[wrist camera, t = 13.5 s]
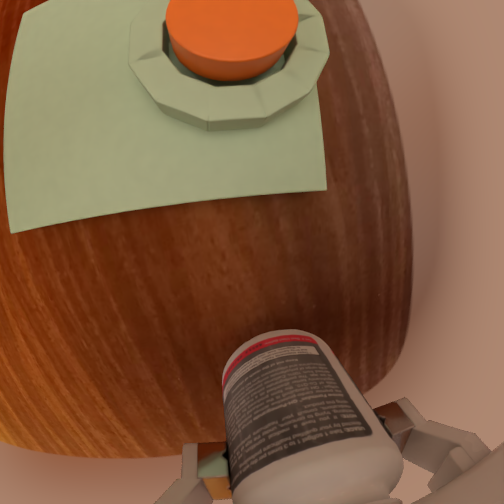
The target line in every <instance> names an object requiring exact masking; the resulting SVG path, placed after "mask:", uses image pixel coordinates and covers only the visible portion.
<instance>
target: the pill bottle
mask: <svg viewBox="0 0 504 504" xmlns="http://www.w3.org/2000/svg"><path fill="white" fill-rule="evenodd" d="M222 391H223V404H224V415H225V428H226V441H227V449H228V462H229V470H230V479H231V493H232V500H233V504H402V501H401V500H400V499H397V498H390V496H389V494H390V493H391V491H392V490H393V489H394V488H395V487H396V485H397V483H398V482H399V480H400V478H401V475H402V472H403V457H402V455H401V452H400V450H399V448H398V446H397V444H396V443H395V442H394V440H393V439H392V437H391V436H390V435H389V433H388V432H387V430H386V429H385V427H384V425H383V422H382V421H381V420H380V419H379V418H378V417H377V415H376V414H375V412H374V411H373V409H372V408H371V406H370V405H369V404H368V402H367V401H366V399H365V398H364V396H363V395H362V393H361V392H360V390H359V389H358V387H357V386H356V384H355V383H354V381H353V380H352V379H351V377H350V375H349V374H348V373H347V371H346V370H345V369H344V367H343V365H342V364H341V363H340V361H339V359H338V358H337V357H336V356H335V354H334V353H333V352H332V350H331V349H330V347H329V346H328V345H327V344H326V343H325V342H324V341H323V340H322V339H321V338H319V337H317V336H316V335H313V334H311V333H308V332H305V331H302V330H296V329H286V330H276V331H270V332H267V333H264V334H261V335H258V336H256V337H254V338H252V339H251V340H249V341H247V342H245V343H244V344H243V345H241V346H240V347H239V348H238V349H237V350H236V351H235V352H234V353H233V354H232V356H231V357H230V358H229V360H228V362H227V364H226V366H225V368H224V371H223V377H222Z"/></svg>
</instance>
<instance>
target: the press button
mask: <svg viewBox="0 0 504 504" xmlns="http://www.w3.org/2000/svg"><path fill="white" fill-rule="evenodd" d="M165 19H166V25H167V29H168V33H169V37H170V41H171V44H172V48H173V51H174V53H175V55H176V57H177V58H178V60H179V61H180V62H181V63H182V64H183V65H184V66H185V67H186V68H187V69H189V70H190V71H192V72H194V73H195V74H198V75H200V76H202V77H205V78H208V79H213V80H218V81H239V80H245V79H249V78H252V77H255V76H258V75H260V74H262V73H264V72H266V71H267V70H269V69H270V68H271V67H273V66H274V65H275V64H276V63H277V62H278V60H279V59H280V57H281V56H282V54H283V53H284V51H285V50H286V48H287V46H288V45H289V43H290V41H291V40H292V38H293V37H294V35H295V33H296V31H297V27H298V21H299V17H298V11H297V7H296V5H295V3H294V0H170V2H169V4H168V6H167V9H166V15H165Z"/></svg>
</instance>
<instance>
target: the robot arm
mask: <svg viewBox="0 0 504 504" xmlns="http://www.w3.org/2000/svg"><path fill="white" fill-rule="evenodd" d="M373 411H374V412H375V414H376V415H377V417H378V418H379V419H380V420H381V421H382V422H383V425H384V427H385V429H386V430H387V432H388V433H389V435H390V436H391V437H392V439H393V440H394V442H395V443H396V444H397V446H398V448H399V450H400V452H401V455H402V457H403V458H404V459H406V460H408V461H410V462H412V463H414V464H416V465H418V466H420V467H422V468H424V469H426V470H428V471H430V472H432V473H434V475H433V477H432V478H431V480H430V481H429V483H428V487H429V489H430V490H431V492H432V493H430V494H428V495H426V496H425V497H423V498H421V499H419V500H417V501H415V502H413V503H411V504H504V442H503V443H501V444H500V445H499V446H498V447H497V448H495V449H494V450H493V451H490V449H489V448H488V447H487V446H486V445H485V444H484V443H483V442H482V441H481V439H479V437H478V436H477V435H476V434H475V433H471V432H467V431H464V430H460V429H457V428H453V427H450V426H447V425H444V424H440V423H437V422H434V421H431V420H428V421H426V420H425V419H424V418H423V416H422V415H421V414H420V413H419V412H418V411H417V409H416V408H415V407H414V406H413V405H412V404H411V402H410V401H409V400H408V399H407V398H405V397H404V398H402V399H399V400H397V401H394V402H391V403H388V404H386V405H383V406H380V407H377V408H375V409H373ZM222 499H232V493H231V479H230V470H229V462H228V449H227V442H226V441H225V442H209V443H184V445H183V452H182V469H181V479H176V481H175V482H174V483H173V484H172V485H171V486H170V487H169V488H168V490H166V491H165V493H164V494H163V495H162V496H161V497H160V498H159V499H158V500H157V501H156V502H155V503H154V504H212V502H213V500H222Z"/></svg>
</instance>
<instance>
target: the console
mask: <svg viewBox="0 0 504 504" xmlns="http://www.w3.org/2000/svg"><path fill="white" fill-rule="evenodd" d="M169 2H170V0H49V1H47V2H45V3H43V4H40V5H38V6H36V7H34V8H33V9H31V10H29V11H27V12H25V13H24V14H23V17H22V20H21V24H20V27H19V31H18V35H17V39H16V43H15V48H14V52H13V57H12V62H11V68H10V74H9V80H8V87H7V96H6V106H5V119H4V178H5V192H6V202H7V211H8V219H9V226H10V232H11V233H12V234H13V233H17V232H21V231H26V230H30V229H35V228H40V227H44V226H49V225H54V224H59V223H64V222H69V221H74V220H80V219H85V218H91V217H96V216H102V215H108V214H114V213H120V212H126V211H133V210H139V209H146V208H153V207H160V206H167V205H175V204H183V203H191V202H199V201H207V200H216V199H226V198H235V197H246V196H256V195H268V194H280V193H293V192H308V191H325V190H327V181H326V167H325V155H324V144H323V134H322V124H321V115H320V107H319V99H318V92H317V84H316V82H317V80H318V78H319V76H320V74H321V72H322V70H323V68H324V66H325V64H326V62H327V60H328V58H329V54H330V51H329V46H328V41H327V36H326V31H325V27H324V22H323V18H322V16H321V14H320V13H319V12H318V11H317V9H316V8H315V7H314V6H313V5H312V4H311V3H310V2H309V1H308V0H294V3H295V5H296V7H297V11H298V17H299V21H298V27H297V31H296V33H295V35H294V37H293V38H292V40H291V41H290V43H289V45H288V46H287V48H286V50H285V51H284V53H283V54H282V56H281V57H280V59H279V60H278V62H277V63H276V64H275V65H274V66H273V67H271V68H270V69H269V70H267V71H266V72H264V73H262V74H260V75H258V76H255V77H252V78H249V79H245V80H239V81H218V80H213V79H208V78H205V77H202V76H200V75H198V74H195V73H194V72H192V71H190V70H189V69H187V68H186V67H185V66H184V65H183V64H182V63H181V62H180V61H179V60H178V58H177V57H176V55H175V53H174V51H173V48H172V44H171V41H170V37H169V33H168V29H167V25H166V19H165V15H166V9H167V6H168V4H169Z"/></svg>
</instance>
